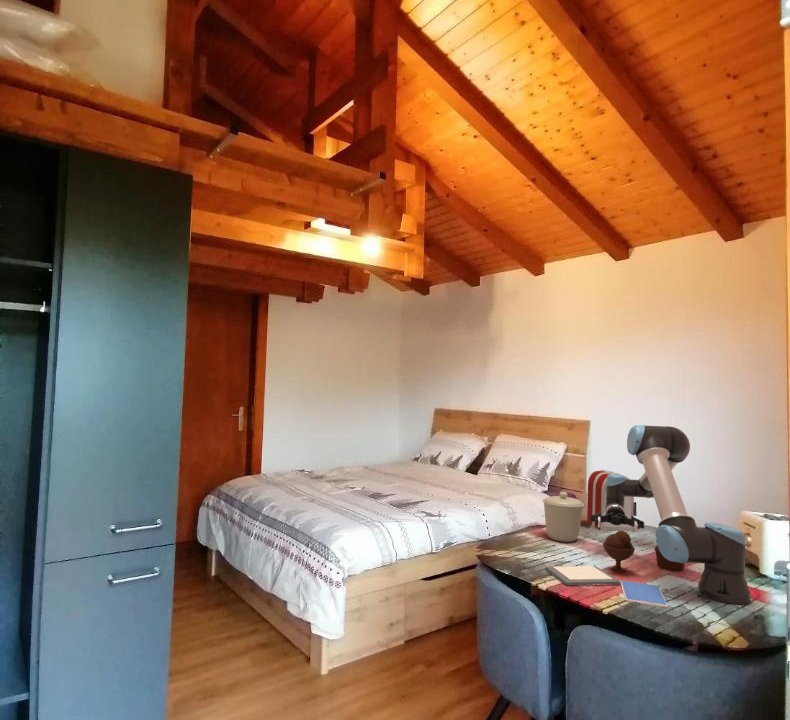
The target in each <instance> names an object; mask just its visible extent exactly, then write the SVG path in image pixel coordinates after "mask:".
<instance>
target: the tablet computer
mask: <svg viewBox="0 0 790 720" xmlns="http://www.w3.org/2000/svg"><path fill="white" fill-rule="evenodd" d="M619 581H620V583H621V584H620V586H622V587H621V590H623V591H622V594H623V598H624V597H625V598H624V601H625V600H626V601H625V602H627V601H631V602H630V603H632V602H637V603H636V604H638V603H640V604H641V605H645V604H646V605H645V606H653V607H659V608H668V607H669V605H668V603H667V600H666V599H665V596H664V594H663V592H662V589H661V587H660V586H658V585H655V584H647V583H642V582H641V583H640V582H634V581H626V580H619Z"/></svg>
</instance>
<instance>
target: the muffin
mask: <svg viewBox="0 0 790 720" xmlns="http://www.w3.org/2000/svg"><path fill="white" fill-rule="evenodd" d="M654 551H655V557H656V565H657V566H658V568H659V567H660V569H662V568H663V570H666V571H669V572H682V571H684V568H685V564H686V563H679V562H673V561H669V560H668V559H666V558H665V557H664V556H663V555H662V554H661V552H660V551H659V549H658V546H657V545H655V547H654Z"/></svg>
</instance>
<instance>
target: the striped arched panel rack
mask: <svg viewBox="0 0 790 720" xmlns="http://www.w3.org/2000/svg"><path fill="white" fill-rule="evenodd" d="M609 474H620V473H617V472H613V471H610V470H609V471H608V470H605V469H601V470H595V471H593V472H591V473H590V475H589V477H588V480H587V491H586V492H587V493H586V494H587V495H586V496H587V500H586V523H588V525H591V526H592V527H593V528H595V529H597V530H598V529H599V531H600V530H601V532H612V531H633V532H634V527H633V526H630V525H627V524H626V525H624V524H621V525H613V524H611V523H608V522H601V523H600V527H598V525H595V521H594V522H590V516H591V515H594V514H597V513H599V512H601V513H603V515H605V514H606V510H605V505H606V483H607V476H608V475H609ZM620 475H622V474H620ZM625 479H630V478H629V477H628V476H625ZM634 503H635V497H626V496H625V497H624V512H625V516H627V517H628V518H630V517H631V516H634Z"/></svg>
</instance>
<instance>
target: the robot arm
mask: <svg viewBox="0 0 790 720" xmlns="http://www.w3.org/2000/svg"><path fill="white" fill-rule="evenodd" d="M626 439H627V440H626V449H627V452H628V454H630V455H632V456H635V457H636V460H637V461H638V463H639V464H641V465H642V466H643V468H644V473H643V474H642V475H641V476H640V478H639V479H630V478H629V479H625V477H626V475H623V474H621V475H620V473H618V474H609V475H608V476H607V483H606V505H605V510H606V514H605V515H603V513H601V512H599V513H597V514H594V515H591V516H590V522H594V521H595V525H598V527H600V523H601V522H608V523H611V524H613V525H621V524H624V525H626V524H627V525H630V526H633V530H634V532H635V533H639V532H638V531H639V530H640V529H645V521H643V520H640V519H638V518H636V517H635V516H634V515H633V516H631V517H630V518H628V517H627V516H625V512H624V497H625V496H626V497H634V498H646V499H651V498H652V499H654V501H655V505H656V507H657V510H658V514H659V516H660V517H659V518H660V519H661V520H660V521H659V523H658V527H657V529H656V530H655V541H656V546H658V549H659V551H660V552H661V554H662V555H663V556H664V557H665V558H666V559H668V560H669V561H673V562H679V563H685V564H687V563H688V564H689V563H690V564H704V565H703V566H704V568H703V571H702V575H701V576H700V580H699V581H698V583H697V591H698V593H699V594H701V595H702V596H704V597H706V598H709V599H711V600H714V601H718V602H721V603H726V604H731V605H749V603H751V601H752V600H751V599H752V598H751V597H752V595H751V592H750V589H749V586H748V582H747V579H746V575H745V570H746V567H745V566H746V565H745V564H746V546H747V544H746V535H745V533H744V532H743V531H742V530H740V529H738V528H735V527H732V526H729V525H726V524H722V523H717V522H713V521H706V522H705V523H704V526H697V523H696V521H695V518H694V517H692V516H690V515H688V513H687V510H686V507H685V504H684V502H683V499H682V495H681V493H680V491H679V488H678V486H677V482H676V479H675V477H674V474H673V472H672V470H673V469H674V468H675V467H676V466H677V464H680V463H682V462H684V461H685V460H686V459H687V457H688V456H689V454H690V451H691V442H690V440H689V437H688V436H687V434H686V433H685V432H683V430H681V429H679V428H677V427H675V426H670V425H669V426H667V425H665V426H663V425H645V424H641V425H640V424H639V425H633V426H632V427H631V428H629V431H628V434H627V438H626Z"/></svg>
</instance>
